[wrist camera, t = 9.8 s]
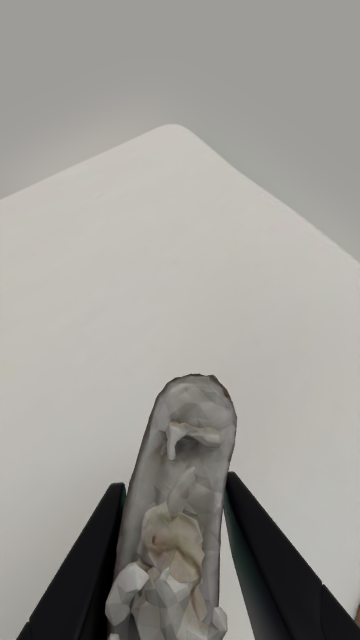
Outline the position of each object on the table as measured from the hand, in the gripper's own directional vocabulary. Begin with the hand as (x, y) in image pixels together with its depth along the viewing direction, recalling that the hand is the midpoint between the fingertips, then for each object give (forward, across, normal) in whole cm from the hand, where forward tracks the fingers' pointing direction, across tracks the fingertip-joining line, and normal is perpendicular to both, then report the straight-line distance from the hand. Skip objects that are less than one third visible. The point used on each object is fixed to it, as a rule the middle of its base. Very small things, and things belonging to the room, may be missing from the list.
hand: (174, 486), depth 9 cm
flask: (+4, 0, +6) cm, 7 cm away
